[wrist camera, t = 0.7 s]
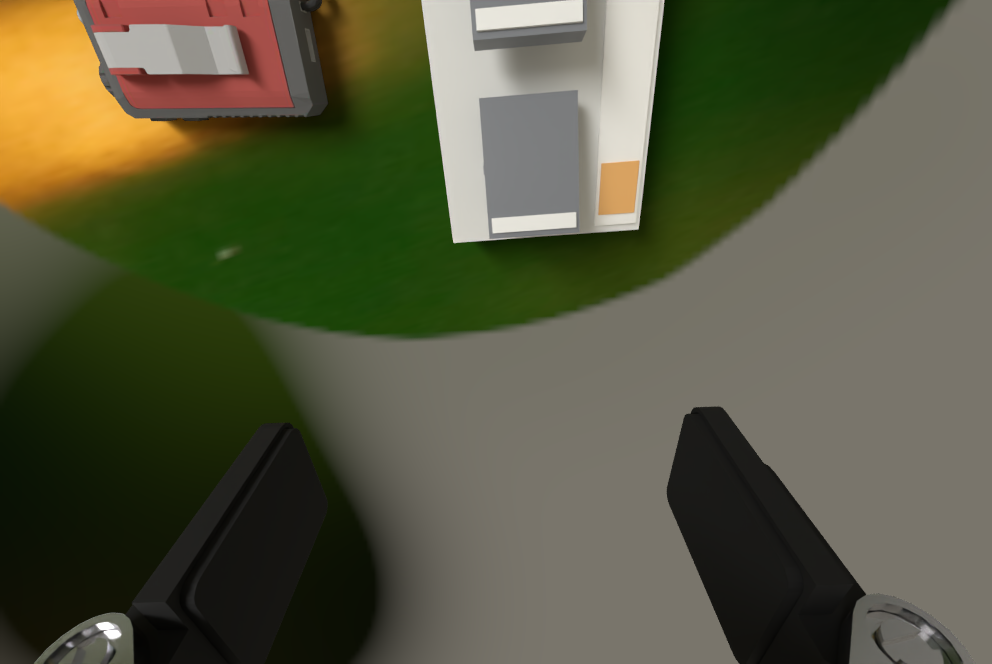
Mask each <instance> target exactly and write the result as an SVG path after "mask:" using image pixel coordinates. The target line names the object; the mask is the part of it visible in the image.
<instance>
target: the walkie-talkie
mask: <svg viewBox="0 0 992 664" xmlns="http://www.w3.org/2000/svg"><path fill="white" fill-rule="evenodd" d="M74 3H75V5H76V8H77V15H78V17H79V19H80V21H81V22H82V23H83V24H84V26H85V28H86V31H87V33H88V35H89V38H90V40H91V42H92V45H93V47H94V49H95V52H96V54H97V56H98V59H99V61H100V66H99V75H100V78H101V81H102V83H103V84H104V86H105V88H106V89H107V90H108V91H109V92H110V93H111V94H112V95H113V96H114V97H115V98H116V100H117V101H118V103H119V104H120V105H121V107H122V108H123V109H124V111H125V112H126V113H127V114H129V115H131V116H132V117H134V118H150V119H151V121H171V120H177V118H182V119H183V120H185V121H202V120H209V118H210V117H214V118H218V117H223V118H226V117H285V116H286V117H293V116H295V117H302V116H304V117H309V116H316V115H320V114H321V113H322V111H323V110H324V109H325V107H326V106H327V105H328V101H327V95H326V90H325V85H324V80H323V75H322V70H321V64H320V59H319V54H318V49H317V44H316V39H315V34H314V28H313V23H312V18H311V13H310V11H315V10H317V9H319V8H320V6H321V4H322V0H310V1H308V0H74Z"/></svg>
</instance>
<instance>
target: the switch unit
mask: <svg viewBox="0 0 992 664" xmlns="http://www.w3.org/2000/svg"><path fill="white" fill-rule="evenodd" d="M421 1H422V8H423V16H424V23H425V31H426V38H427V46H428V54H429V61H430V69H431V76H432V84H433V92H434V99H435V107H436V114H437V122H438V130H439V137H440V145H441V152H442V160H443V168H444V175H445V183H446V190H447V198H448V206H449V213H450V221H451V228H452V236H453V243H458V242H472V241H486V240H500V239H513V238H527V237H541V236H555V235H568V234H582V233H596V232H610V231H623V230H637V229H639V222H640V213H641V204H642V195H643V186H644V177H645V169H646V160H647V151H648V142H649V133H650V124H651V115H652V106H653V98H654V89H655V80H656V71H657V62H658V53H659V44H660V36H661V27H662V18H663V9H664V0H587V31H586V33H585V36H584V38H583V40H582V42H572V43H561V44H550V45H539V46H527V47H516V48H505V49H493V50H482V51H475V50H474V44H473V35H472V22H471V8H470V0H421ZM571 90H578V144H579V220H580V233H567V234H553V235H539V236H525V237H512V238H498V239H489V226H488V213H487V199H486V186H485V172H484V159H483V145H482V132H481V119H480V105H479V98H488V97H500V96H512V95H524V94H536V93H548V92H559V91H571Z"/></svg>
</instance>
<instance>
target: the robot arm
mask: <svg viewBox="0 0 992 664" xmlns="http://www.w3.org/2000/svg"><path fill="white" fill-rule="evenodd" d="M667 498H668V502H669V505H670V507H671V510H672V512H673V514H674V517H675V519H676V521H677V524H678V526H679V528H680V531H681V533H682V535H683V537H684V540H685V542H686V545H687V547H688V549H689V552H690V554H691V556H692V559H693V561H694V564H695V566H696V568H697V570H698V573H699V575H700V578H701V580H702V582H703V584H704V587H705V589H706V591H707V594H708V596H709V598H710V601H711V603H712V606H713V608H714V610H715V613H716V615H717V617H718V620H719V622H720V624H721V627H722V629H723V631H724V634H725V636H726V638H727V641H728V643H729V645H730V648H731V650H732V652H733V654H734V656H735V658H736V660H737V661H738V663H739V664H975V662H974V660H973V659H972V657H971V656H970V654H969V653H968V651H967V650H966V648H965V647H964V645H963V644H962V643H961V642H960V641H959V640H958V639H957V638H956V637H955V636H954V635H953V634H952V632H951V631H950V630H949V629H948V628H946V627H945V626H944V625H943V624H941V623H940V622H939V621H937V620H936V619H935V618H934V617H933V616H932V615H930V614H928V613H927V612H925V611H923V610H922V609H920V608H918V607H917V606H915V605H913V604H912V603H909V602H907V601H904V600H902V599H899V598H897V597H894V596H889V595H884V594H870V595H866V594H865V592H864V591H863V590H862V588H861V587H860V586H859V584H858V583H857V582H856V580H855V579H854V578H853V576H852V575H851V574H850V572H849V571H848V570H847V568H846V567H845V566H844V564H843V563H842V561H841V560H840V559H839V558H838V556H837V555H836V553H835V552H834V551H833V549H832V548H831V547H830V546H829V544H828V543H827V541H826V540H825V539H824V537H823V536H822V535H821V534H820V532H819V531H818V529H817V528H816V527H815V525H814V524H813V523H812V521H811V520H810V519H809V517H808V516H807V515H806V513H805V512H804V511H803V510H802V508H801V507H800V505H799V504H798V503H797V501H796V500H795V499H794V497H793V496H792V495H791V493H789V491H788V489H787V488H786V487H785V485H784V484H783V483H782V481H781V480H780V479H779V477H778V476H777V475H776V473H775V472H774V471H773V470H772V469H771V468H770V467H769V466H768V465H766V464H764V463H763V462H762V460H761V459H760V458H759V456H758V455H757V453H756V452H755V451H754V449H753V448H752V447H751V445H750V444H749V443H748V441H747V440H746V439H745V437H744V436H743V434H742V433H741V432H740V430H739V429H738V428H737V426H736V425H735V424H734V422H733V421H732V420H731V418H730V417H729V415H728V414H727V413H726V412H725V410H724V409H723V408H721V407H696V408H693V410H692V411H691V414H686V415H685V417H684V420H683V424H682V428H681V432H680V436H679V441H678V445H677V449H676V453H675V457H674V461H673V465H672V469H671V474H670V478H669V482H668V486H667ZM326 512H327V499H326V496H325V493H324V491H323V489H322V486H321V483H320V481H319V478H318V476H317V474H316V471H315V468H314V466H313V463H312V461H311V458H310V456H309V453H308V451H307V448H306V446H305V443H304V441H303V438H302V435H301V433H300V431H299V430H298V429H296V428H293V426H292V425H291V424H290V423H268V424H263V425H262V426H261V427H259V429H258V430H257V431H256V433H255V434H254V435H253V437H252V438H251V440H250V441H249V442H248V444H247V445H246V446H245V448H244V449H243V451H242V452H241V453H240V455H239V456H238V457H237V459H236V460H235V462H234V463H233V464H232V466H231V467H230V468H229V470H228V471H227V473H226V474H225V475H224V477H223V478H222V480H221V481H220V482H219V484H218V485H217V486H216V488H215V489H214V491H213V492H212V493H211V495H210V496H209V497H208V499H207V500H206V501H205V503H204V504H203V506H202V507H201V509H200V510H199V511H198V512H197V514H196V515H195V517H194V518H193V519H192V521H191V522H190V524H189V525H188V526H187V528H186V529H185V530H184V532H183V533H182V535H181V536H180V537H179V539H178V540H177V541H176V543H175V544H174V546H173V547H172V548H171V550H170V551H169V552H168V554H167V555H166V557H165V558H164V560H163V561H162V562H161V563H160V565H159V566H158V568H157V569H156V570H155V572H154V573H153V574H152V576H151V577H150V579H149V580H148V581H147V583H146V584H145V586H144V587H143V588H142V590H141V591H140V592H139V594H138V595H137V597H136V598H135V599H134V601H133V602H132V604H133V605H132V607H131V608H130V609H129V611H128V612H127V614H126V615H124V614H120V613H108V614H104V615H100V616H96V617H94V618H92V619H90V620H88V621H85V622H84V623H81V624H79V625H78V626H76V627H75V628H74V629H72V630H70V631H69V632H68V633H66V634H64V635H63V636H62V637H60V638H59V639H58V640H57V641H56V642H55V643H54V644H52V645H51V646H50V647H49V648H48V649H47V650H46V651H45V652H44V653H43V654H42V655H41V656H40V657H39V659H38V660H37V661H36V662H35V663H34V664H264V663H265V661H266V658H267V656H268V653H269V651H270V648H271V646H272V644H273V641H274V639H275V636H276V634H277V632H278V629H279V626H280V624H281V622H282V619H283V617H284V615H285V612H286V610H287V607H288V605H289V602H290V600H291V598H292V595H293V593H294V590H295V588H296V585H297V583H298V580H299V578H300V576H301V573H302V571H303V569H304V566H305V564H306V561H307V559H308V556H309V554H310V552H311V549H312V547H313V544H314V542H315V539H316V537H317V535H318V532H319V530H320V527H321V525H322V523H323V520H324V518H325V515H326Z"/></svg>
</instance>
